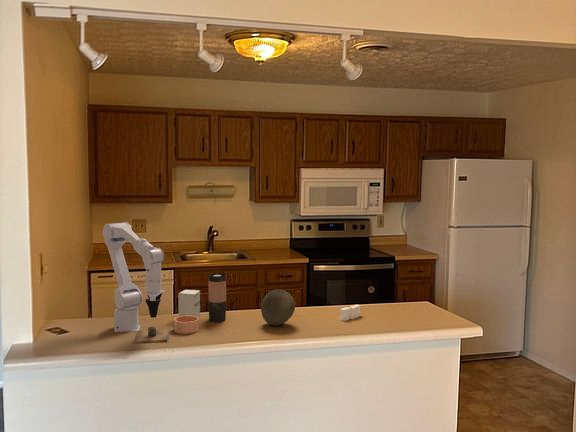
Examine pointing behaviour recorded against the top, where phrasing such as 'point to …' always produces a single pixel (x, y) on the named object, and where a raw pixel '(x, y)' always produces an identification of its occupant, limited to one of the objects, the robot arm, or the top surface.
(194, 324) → the terracotta bowl
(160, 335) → the walnut cover
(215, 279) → the travel mug
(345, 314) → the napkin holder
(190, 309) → the supplement box
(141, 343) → the slate mat
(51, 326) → the top surface
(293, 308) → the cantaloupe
